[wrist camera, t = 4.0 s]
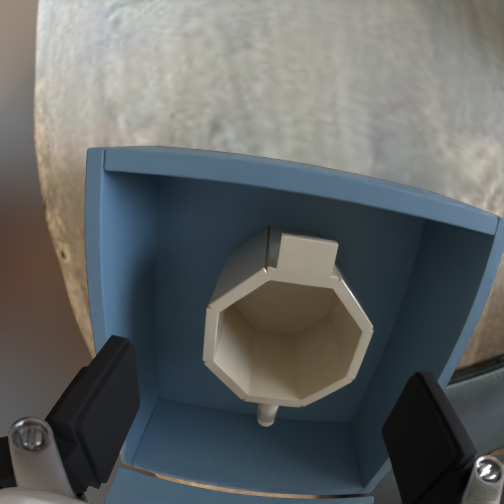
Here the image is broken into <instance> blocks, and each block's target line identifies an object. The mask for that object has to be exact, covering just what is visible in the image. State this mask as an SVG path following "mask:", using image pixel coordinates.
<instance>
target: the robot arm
mask: <svg viewBox="0 0 504 504" xmlns="http://www.w3.org/2000/svg"><path fill="white" fill-rule="evenodd" d="M139 406H140V396H139V387H138V378H137V367H136V356H135V346H134V344H131V343H130V340H129V339H128V338H125V337H120V336H116V335H111V336H110V338H109V339H108V340H107V342H106V343H105V344H104V346H103V347H102V348H101V350H100V351H99V352H98V354H97V355H96V356H95V358H94V359H93V360H92V362H91V363H90V364H89V366H88V367H86V366H85V367H83V368H82V369H81V370H80V371H79V372H78V374H77V375H76V376H75V378H74V379H73V380H72V382H71V383H70V384H69V386H68V387H67V389H66V390H65V391H64V393H63V394H62V396H61V397H60V398H59V400H58V401H57V403H56V404H55V406H54V407H53V408H52V410H51V411H50V413H49V414H48V416H47V417H46V418H45V420H42V419H40V418H37V417H24V418H21V419H19V420H17V421H16V422H14V423H13V424H12V426H11V427H10V429H9V433H8V436H6V437H1V438H0V504H91V503H88V501H87V499H86V497H85V494H84V492H86V490H87V488H88V486H92V487H94V488H97V489H99V488H100V485H101V483H106V482H107V481H108V479H109V477H110V474H111V472H112V470H113V467H114V465H115V462H116V460H117V458H118V455H119V453H120V451H121V448H122V446H123V444H124V442H125V439H126V437H127V435H128V432H129V430H130V428H131V426H132V423H133V421H134V419H135V417H136V414H137V412H138V410H139ZM382 436H383V439H384V442H385V446H386V449H387V452H388V455H389V458H390V462H391V465H392V468H393V471H394V475H395V478H396V481H397V485H398V488H399V492H400V495H401V499H402V502H403V504H504V466H503V465H502V463H501V462H500V461H499V460H498V459H497V458H495V457H493V456H490V455H482V456H480V457H478V458H477V459H475V457H474V456H475V455H476V453H477V451H476V449H475V447H474V445H473V443H472V441H471V439H470V437H469V436H468V434H467V432H466V430H465V428H464V426H463V425H462V423H461V421H460V419H459V417H458V416H457V414H456V412H455V410H454V409H453V407H452V405H451V404H450V402H449V400H448V398H447V397H446V395H445V393H444V392H443V390H442V388H441V387H440V385H439V383H438V382H437V380H436V378H435V377H434V375H433V374H432V373H431V372H416V373H414V375H413V376H411V377H410V378H409V379H408V381H407V383H406V385H405V387H404V389H403V391H402V393H401V395H400V397H399V398H398V400H397V402H396V404H395V406H394V408H393V409H392V411H391V413H390V415H389V416H388V418H387V420H386V422H385V423H384V425H383V427H382Z"/></svg>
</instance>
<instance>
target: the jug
mask: <svg viewBox="0 0 504 504" xmlns="http://www.w3.org/2000/svg"><path fill="white" fill-rule="evenodd" d="M337 250H338V243H337V242H336V241H332V240H326V239H323V238H322V237H321V235H318V234H317V233H313V232H307V231H301V230H295V229H288V228H282V227H276V226H270V229H269V227H266V228H264V229H263V230H262V231H260V232H259V233H257V234H256V235H255V236H253V237H252V238H250V239H249V240H248V241H246V242H245V243H243V244H242V245H241V246H239V247H238V248H236V249H235V250H234V251H232V252H231V253H230V255H229V256H228V258H227V261H226V263H225V265H224V268H223V270H222V272H221V275H220V277H219V279H218V282H217V284H216V287H215V289H214V291H213V294H212V296H211V298H210V301H209V303H208V306H207V308H206V318H205V330H204V344H203V358H202V360H203V361H204V364H205V365H206V366H207V367H208V368H209V369H210V370H211V371H212V372H213V373H214V374H215V375H216V376H217V377H218V378H219V379H220V380H221V381H222V382H223V383H224V384H225V385H226V386H227V387H228V388H229V389H230V390H231V391H233V392H234V393H235V394H236V395H237V396H238V397H239V398H240V399H241V400H243V399H244V401H247V402H254V403H258V414H257V421H258V423H259V424H260V425H261V426H263V427H268V426H271V425H272V424H273V423H274V420H275V417H276V414H277V410H278V407H279V406H288V407H299V408H300V407H301V405H302V406H303V407H304V406H307V405H309V404H311V403H313V402H315V401H317V400H319V399H321V398H323V397H325V396H327V395H329V394H331V393H333V392H334V391H336V390H338V389H340V388H342V387H344V386H346V385H347V384H349V383H351V382H352V381H353V380H352V379H355V378H356V376H357V373H358V371H359V368H360V366H361V363H362V361H363V358H364V356H365V353H366V350H367V348H368V345H369V342H370V340H371V337H372V334H373V331H374V330H373V325H372V323H371V321H370V319H369V317H368V315H367V313H366V311H365V309H364V307H363V305H362V303H361V301H360V299H359V297H358V295H357V293H356V292H355V290H354V288H353V286H352V284H351V282H350V280H349V278H348V276H347V275H346V273H345V271H344V269H343V268H342V266H341V265H340V263H339V262H338V260H337V259H336V254H337Z"/></svg>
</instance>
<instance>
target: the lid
mask: <svg viewBox="0 0 504 504" xmlns="http://www.w3.org/2000/svg"><path fill="white" fill-rule="evenodd" d="M104 504H374V498H373V496H370V497H357V498H339V499H294V498H275V497H262V496H252V495H243V494H235V493H228V492H221V491H215V490H209V489H204V488H198V487H193V486H189V485H184V484H179V483H175V482H171V481H167V480H163V479H159V478H155V477H152V476H148V475H144V474H141V473H138V472H135V471H131V470H128V469H125V468H122V467H118V469H117V472H116V474H115V477H114V480H113V482H112V485H111V487H110V489H109V492H108V495H107V497H106V500H105V503H104Z"/></svg>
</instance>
